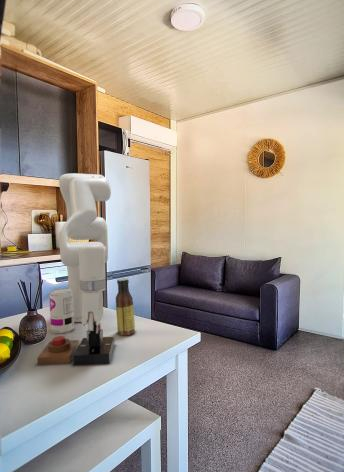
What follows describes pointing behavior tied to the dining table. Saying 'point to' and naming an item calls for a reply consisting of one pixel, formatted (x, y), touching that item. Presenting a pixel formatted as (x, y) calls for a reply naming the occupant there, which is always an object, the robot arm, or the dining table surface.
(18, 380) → the dining table surface
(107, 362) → the switch base
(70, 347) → the button block
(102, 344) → the grey flat block
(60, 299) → the supplement can
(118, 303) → the sauce bottle
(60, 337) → the button
